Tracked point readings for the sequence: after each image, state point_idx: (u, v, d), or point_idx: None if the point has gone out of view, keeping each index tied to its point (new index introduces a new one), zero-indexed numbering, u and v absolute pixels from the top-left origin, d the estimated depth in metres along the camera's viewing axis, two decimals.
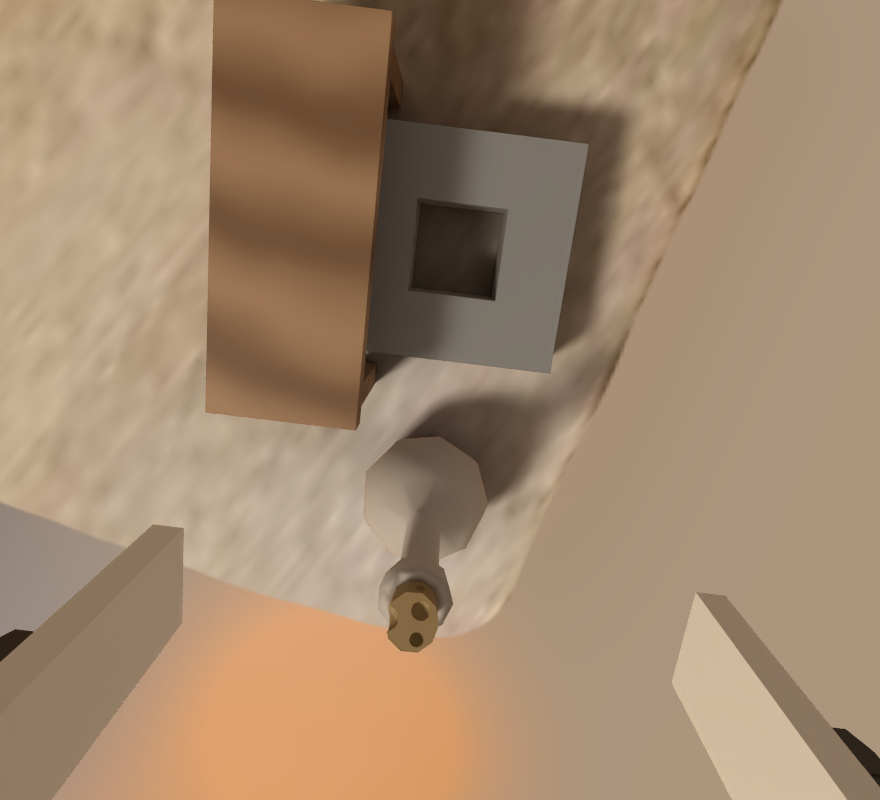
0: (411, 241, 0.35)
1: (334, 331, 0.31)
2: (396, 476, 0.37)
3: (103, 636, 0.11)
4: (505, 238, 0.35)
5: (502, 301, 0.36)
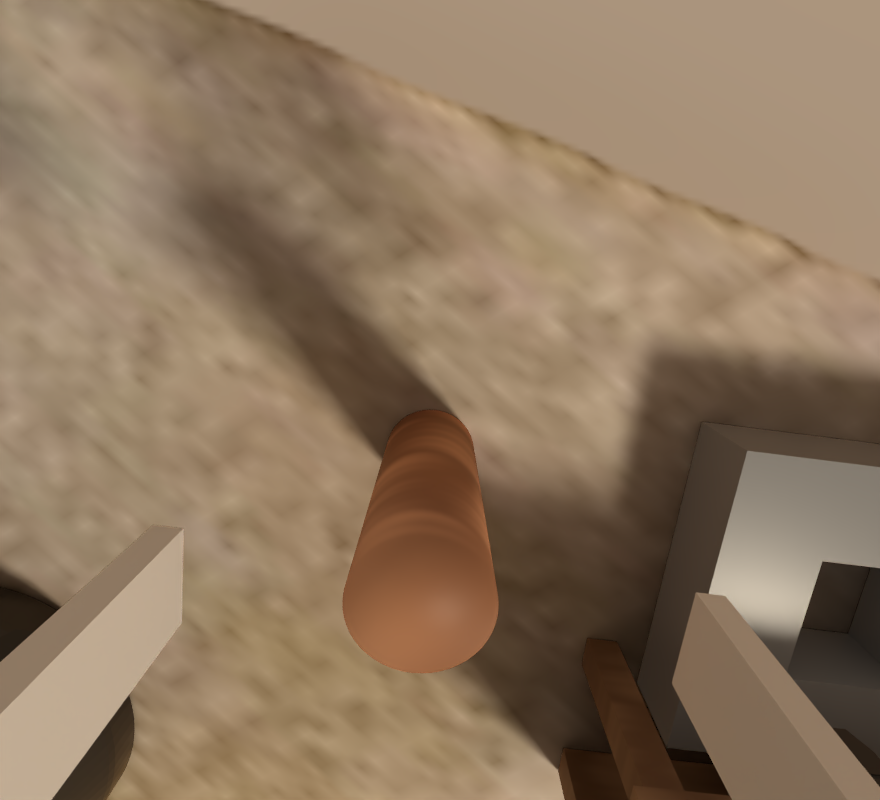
0: (844, 687, 0.25)
1: None
2: None
3: (103, 636, 0.11)
4: (864, 564, 0.23)
5: None
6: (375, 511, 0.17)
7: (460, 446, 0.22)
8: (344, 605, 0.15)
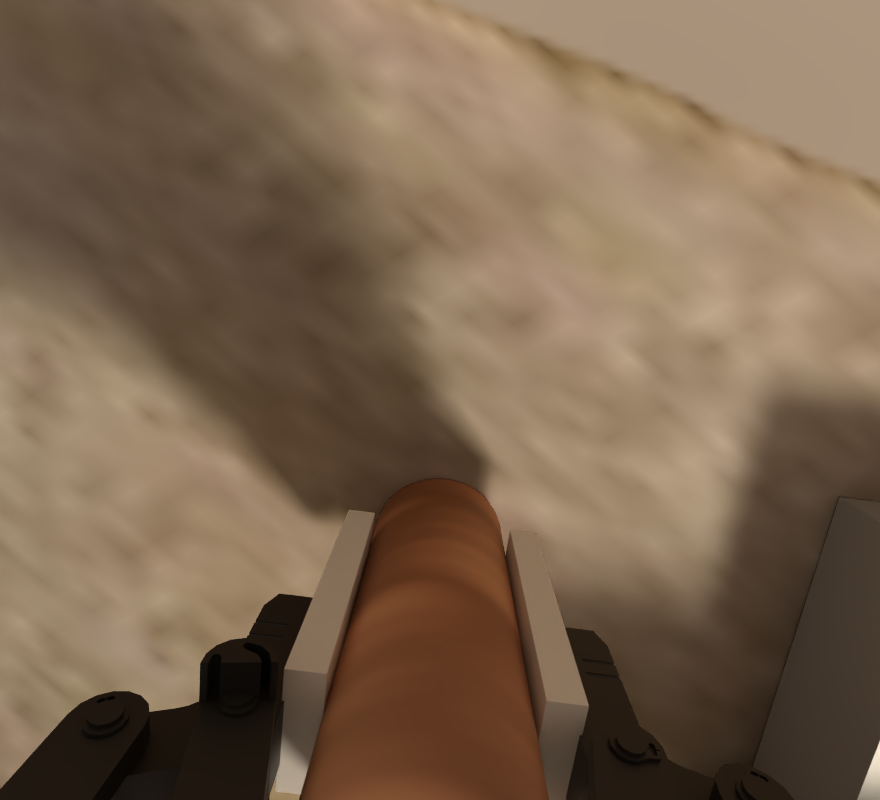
0: None
1: None
2: None
3: (353, 599, 0.13)
4: None
5: None
6: (332, 743, 0.09)
7: (485, 554, 0.14)
8: None
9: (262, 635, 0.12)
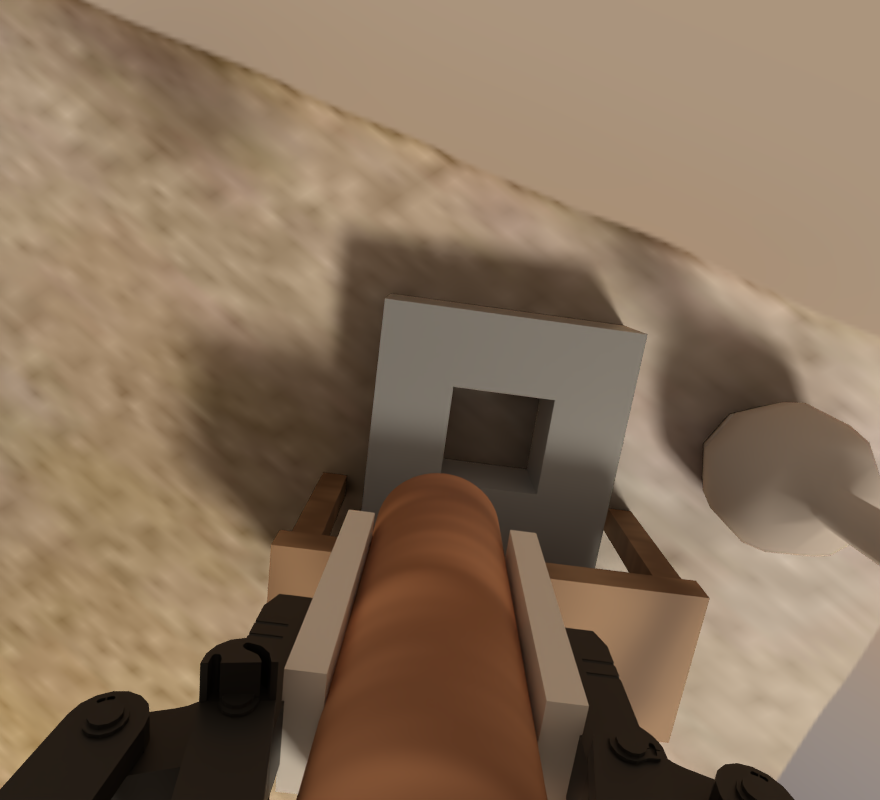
0: (484, 489, 0.32)
1: (591, 613, 0.28)
2: (762, 528, 0.30)
3: (353, 599, 0.13)
4: (485, 389, 0.31)
5: (555, 392, 0.31)
6: (334, 722, 0.09)
7: (483, 545, 0.14)
8: None
9: (262, 635, 0.12)
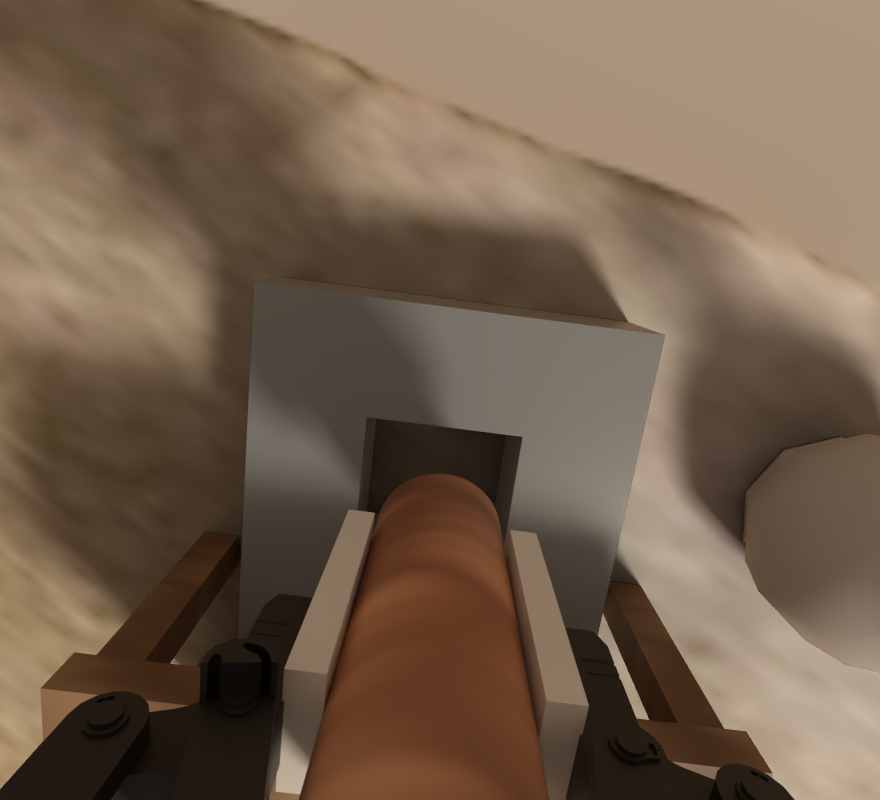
0: None
1: None
2: (846, 637, 0.19)
3: (353, 599, 0.13)
4: (415, 420, 0.20)
5: (523, 424, 0.20)
6: (336, 723, 0.09)
7: (484, 546, 0.14)
8: None
9: (262, 635, 0.12)
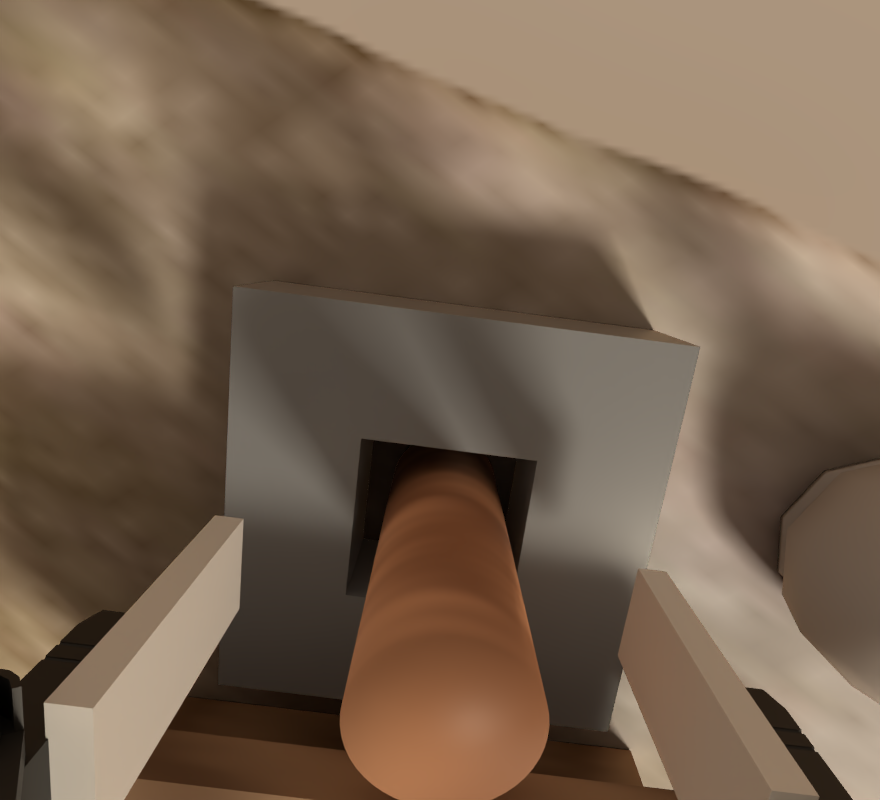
0: None
1: None
2: None
3: (185, 616, 0.12)
4: (415, 442, 0.18)
5: (538, 447, 0.18)
6: (382, 583, 0.13)
7: (483, 484, 0.18)
8: (342, 723, 0.11)
9: (60, 659, 0.10)
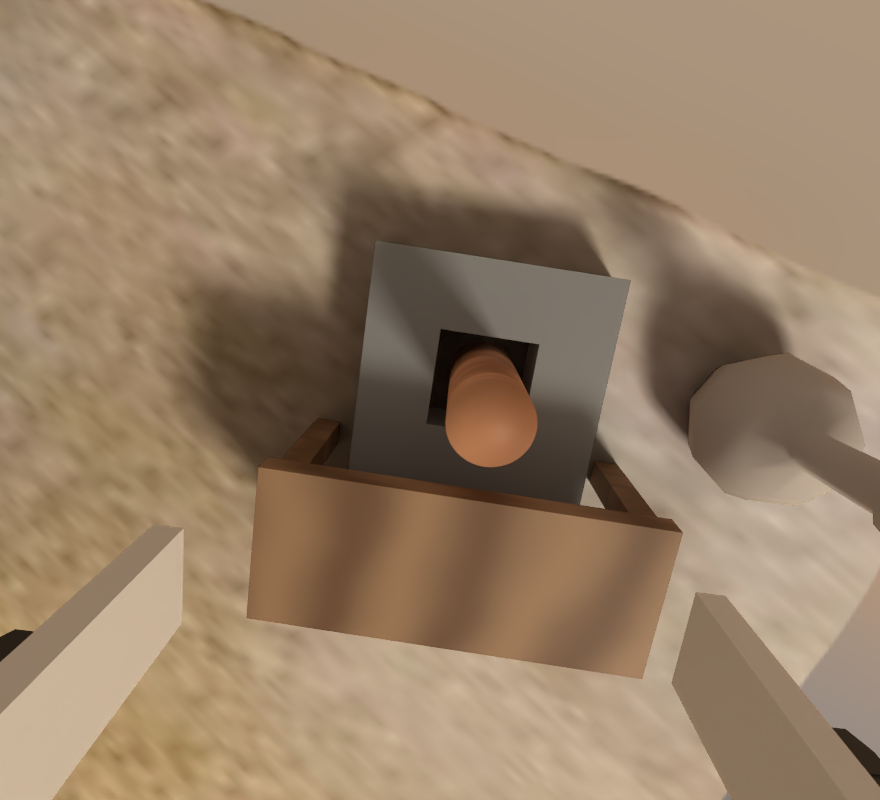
0: None
1: (566, 545, 0.28)
2: (741, 473, 0.31)
3: (103, 636, 0.11)
4: (471, 332, 0.32)
5: (540, 336, 0.32)
6: (459, 378, 0.27)
7: (507, 358, 0.32)
8: (446, 421, 0.25)
9: None
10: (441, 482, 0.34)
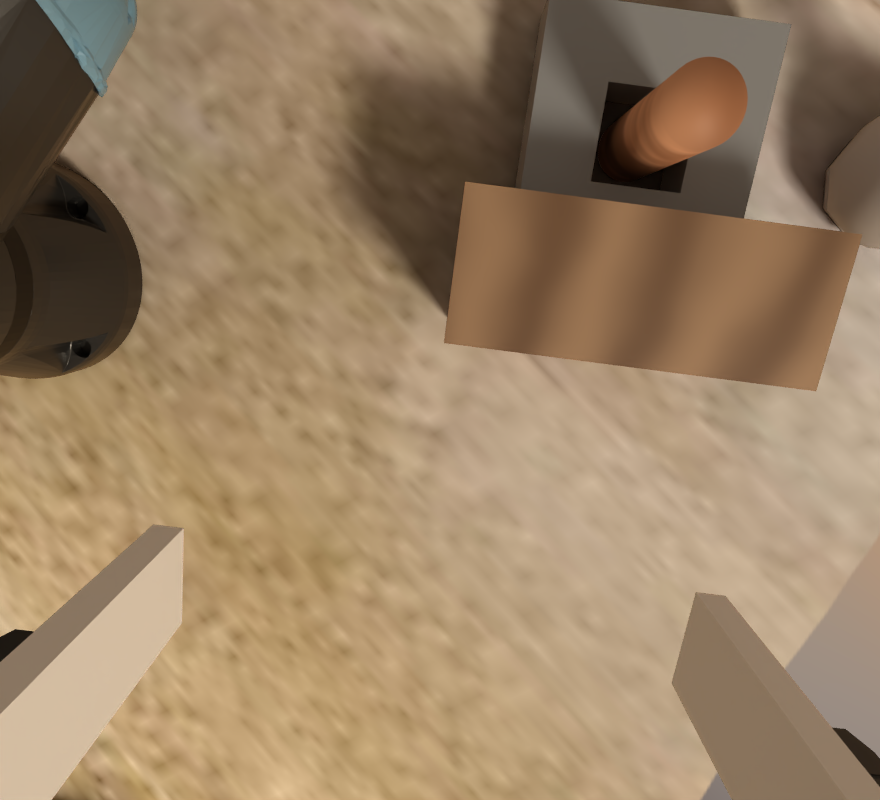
0: (632, 188, 0.35)
1: (752, 252, 0.30)
2: None
3: (103, 636, 0.11)
4: (637, 84, 0.34)
5: None
6: (657, 87, 0.29)
7: None
8: (662, 104, 0.27)
9: None
10: None
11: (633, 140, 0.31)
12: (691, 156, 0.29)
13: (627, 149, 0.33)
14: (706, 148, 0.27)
